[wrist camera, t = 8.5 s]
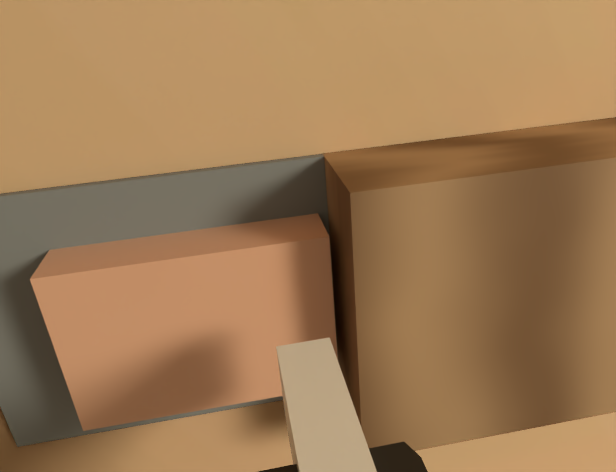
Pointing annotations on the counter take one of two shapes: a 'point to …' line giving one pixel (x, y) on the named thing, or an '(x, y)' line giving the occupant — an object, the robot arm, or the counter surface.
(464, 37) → the counter surface
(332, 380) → the robot arm
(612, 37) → the counter surface
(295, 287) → the salmon orange flat block
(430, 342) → the brown wooden flat block
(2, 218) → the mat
